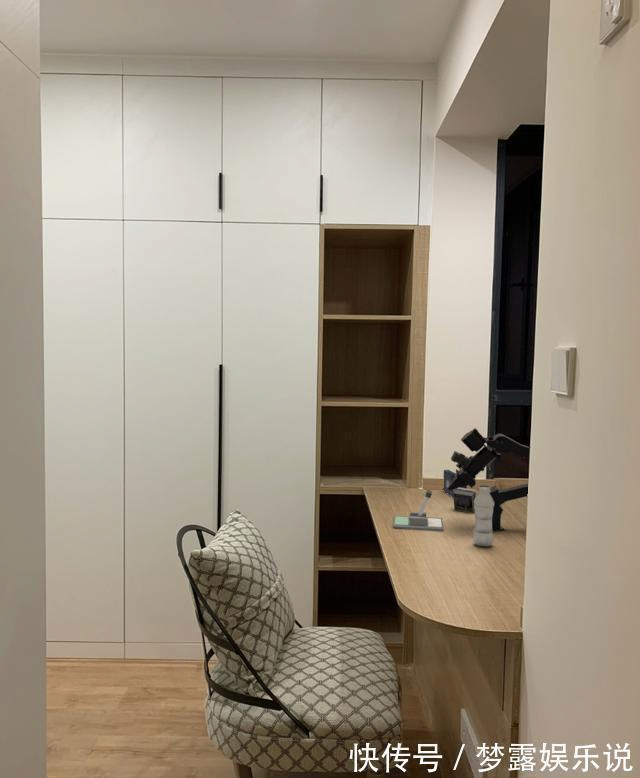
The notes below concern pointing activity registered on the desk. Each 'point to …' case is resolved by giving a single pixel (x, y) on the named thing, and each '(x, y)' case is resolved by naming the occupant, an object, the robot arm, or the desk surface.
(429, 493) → the lever
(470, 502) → the electrical switch
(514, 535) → the desk surface
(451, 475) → the vhs cassette tape
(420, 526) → the switch plate
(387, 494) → the desk surface
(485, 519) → the plastic bottle
